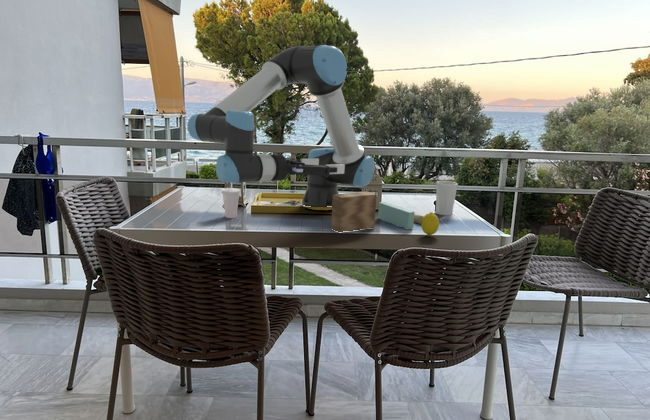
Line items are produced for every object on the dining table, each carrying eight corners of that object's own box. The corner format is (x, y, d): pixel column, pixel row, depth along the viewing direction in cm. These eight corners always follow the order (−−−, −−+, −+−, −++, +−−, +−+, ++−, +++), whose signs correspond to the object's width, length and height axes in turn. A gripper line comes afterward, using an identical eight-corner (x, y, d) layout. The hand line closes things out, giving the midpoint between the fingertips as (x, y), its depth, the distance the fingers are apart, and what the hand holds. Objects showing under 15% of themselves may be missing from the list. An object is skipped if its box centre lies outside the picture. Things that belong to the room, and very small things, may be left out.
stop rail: (407, 229, 168) (408, 212, 166) (378, 218, 181) (379, 202, 179) (413, 228, 169) (414, 211, 167) (383, 217, 182) (384, 201, 180)
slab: (339, 234, 159) (341, 197, 156) (331, 230, 163) (332, 194, 161) (374, 229, 167) (376, 194, 164) (365, 225, 171) (367, 191, 168)
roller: (420, 218, 174) (421, 226, 175) (426, 215, 175) (427, 223, 176) (401, 212, 182) (402, 219, 183) (407, 209, 183) (408, 216, 184)
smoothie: (243, 215, 176) (243, 176, 173) (234, 220, 170) (234, 179, 167) (227, 213, 178) (227, 175, 175) (218, 217, 172) (217, 177, 169)
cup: (454, 216, 189) (458, 185, 186) (433, 214, 190) (436, 183, 187) (453, 211, 196) (457, 181, 193) (433, 210, 198) (436, 180, 195)
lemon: (418, 233, 164) (420, 210, 162) (434, 233, 164) (437, 210, 162) (423, 238, 158) (425, 214, 156) (439, 238, 159) (442, 214, 157)
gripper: (250, 174, 152) (307, 171, 164) (292, 188, 133) (354, 184, 145) (250, 149, 151) (308, 149, 163) (293, 160, 131) (356, 158, 143)
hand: (330, 165), depth 154 cm, fingers open, 13 cm apart
